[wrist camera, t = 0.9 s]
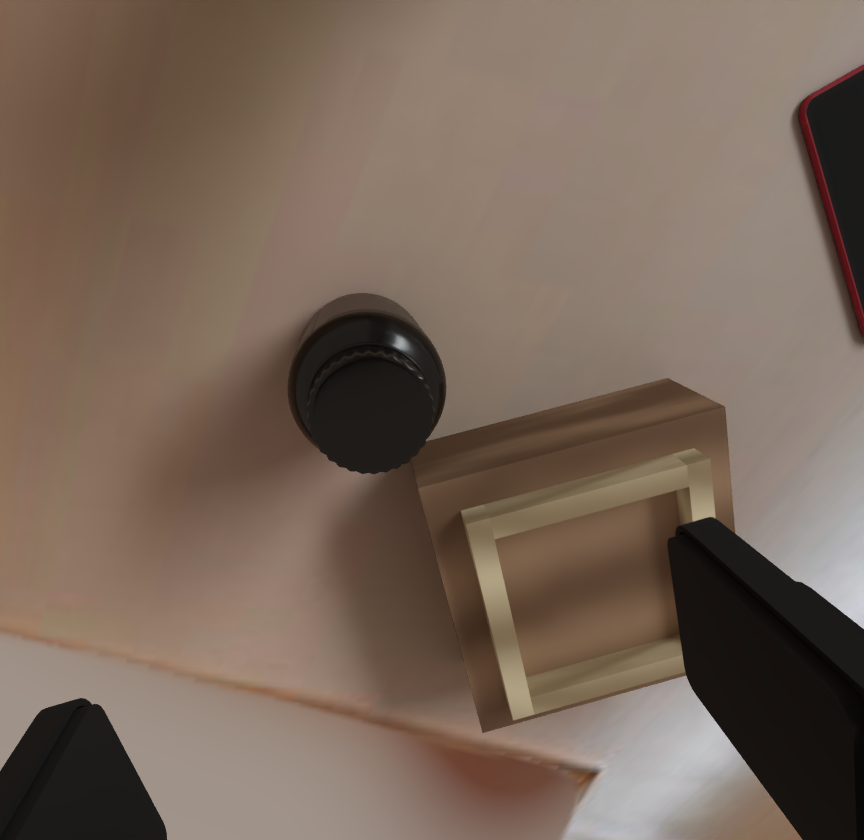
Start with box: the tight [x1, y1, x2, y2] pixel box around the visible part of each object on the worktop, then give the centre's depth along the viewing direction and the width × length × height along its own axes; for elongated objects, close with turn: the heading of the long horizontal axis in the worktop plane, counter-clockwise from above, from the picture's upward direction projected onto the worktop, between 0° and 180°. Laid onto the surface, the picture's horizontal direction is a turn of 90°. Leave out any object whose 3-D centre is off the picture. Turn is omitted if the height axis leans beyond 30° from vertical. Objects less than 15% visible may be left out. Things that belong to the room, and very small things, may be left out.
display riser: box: [411, 378, 735, 733], centre depth 35 cm, size 16×16×8 cm
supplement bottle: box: [288, 293, 446, 474], centre depth 28 cm, size 7×7×12 cm
